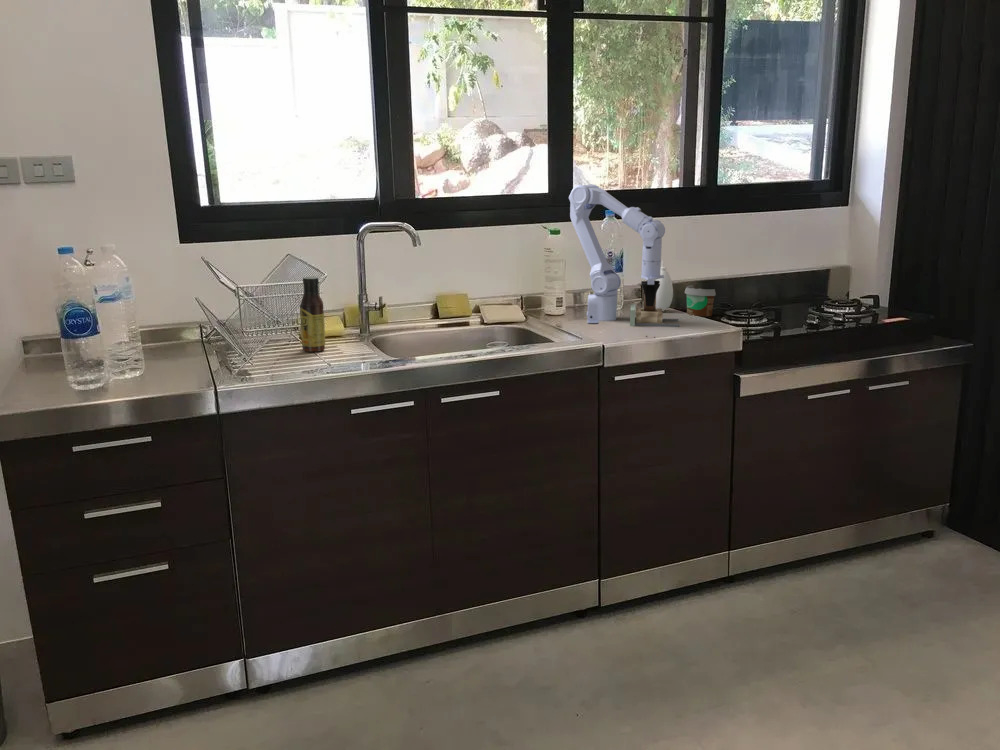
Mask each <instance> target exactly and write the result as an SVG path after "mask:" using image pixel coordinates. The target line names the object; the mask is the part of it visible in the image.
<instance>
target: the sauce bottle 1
mask: <svg viewBox="0 0 1000 750" xmlns="http://www.w3.org/2000/svg"><path fill="white" fill-rule="evenodd" d="M319 280H320V279H319V277H317V276H304V277H302V283H303V284H302V285H303V295H302V299H301V303H300V304H299V305H300V306H299V315H300V332H301V333H300V334H301V335H300V336H301V346H302V350H303V351H304V352H306V353H315V352H323V351H325V349H326V348H325V347H326V333H325V332H326V330H325V327H326V326H325V325H326V324H325V312H324V302H323V300H322V297H320V295H319V283H320V282H319Z"/></svg>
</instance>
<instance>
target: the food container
mask: <svg viewBox="0 0 1000 750" xmlns="http://www.w3.org/2000/svg"><path fill="white" fill-rule="evenodd" d="M684 294H686V314H687V315H689V316H693V315H694V316H696V317H712V316H713V310H714V309H713V308H714V300H715V296H716V295H717V293H716V289H715V288H714V289H712V288H711V289H709V288H708V289H705V288H696V287H694V285H693V284H692V285H691V284H690V285H687V286H686V288H685V290H684Z"/></svg>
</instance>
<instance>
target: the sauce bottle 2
mask: <svg viewBox="0 0 1000 750" xmlns="http://www.w3.org/2000/svg"><path fill="white" fill-rule="evenodd" d="M660 275H664V278H660V279H657V280H656V281H660V283H659V284H660V286H659V288H658V290H657V293H656V309H662V310H664V309H666V310H667V309H669V308H670V307H671V304H672V302H673V297H674V288H673V287H674V286H673V282H672V278H671V276H670V274H669V272H668V271H667V267H665V266H664V259H661V271H660Z"/></svg>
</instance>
